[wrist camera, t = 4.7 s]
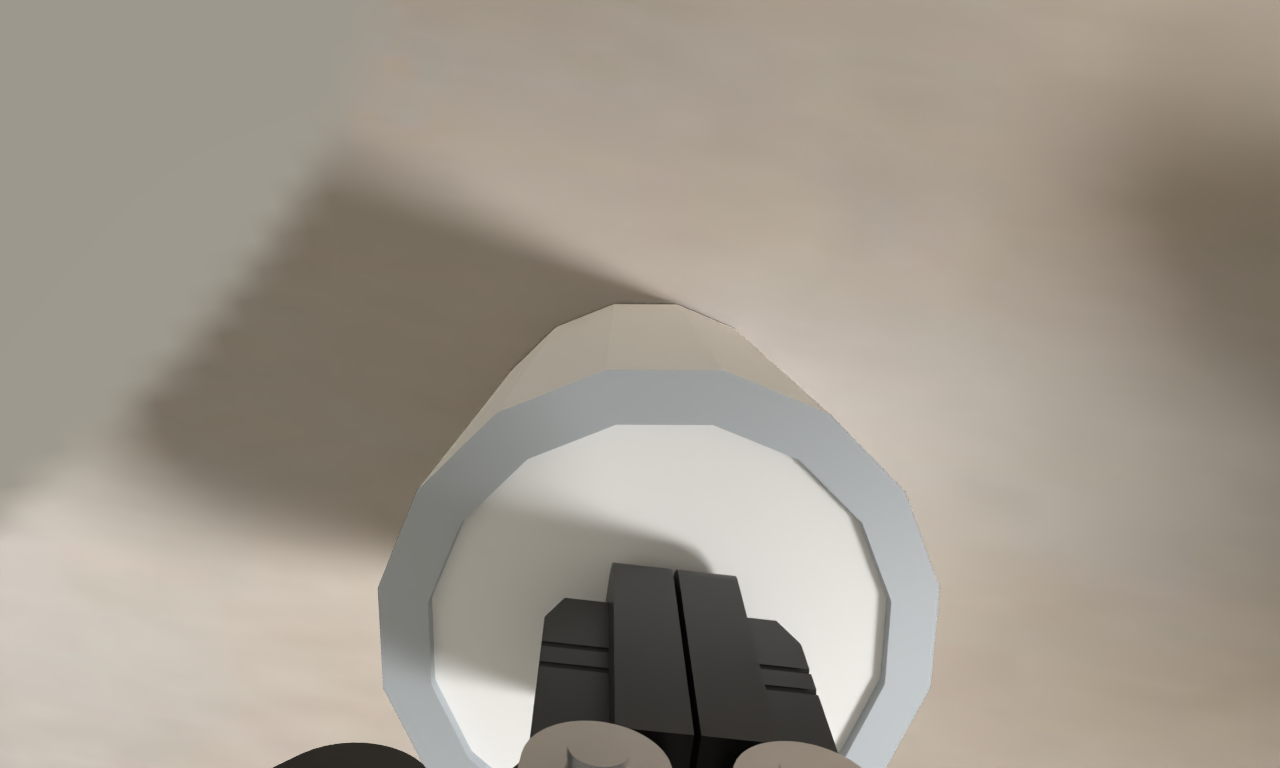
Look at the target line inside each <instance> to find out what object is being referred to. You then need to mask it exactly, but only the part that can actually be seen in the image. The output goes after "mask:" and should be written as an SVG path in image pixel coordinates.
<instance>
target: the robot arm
mask: <svg viewBox="0 0 1280 768" xmlns="http://www.w3.org/2000/svg"><path fill="white" fill-rule="evenodd" d="M273 768H426V767H425V766H424V765H423V764H422V763H421V762H419V761H418V760H417V759H415V758H414V757H412V756H410V755H408V754H407V753H405V752H402V751H400V750H397V749H394V748H391V747H387V746H383V745H378V744H370V743H341V744H334V745H328V746H323V747H320V748H316V749H313V750H310V751H308V752H305V753H303V754H300V755H298V756H296V757H294V758H292V759H290V760H288V761H286V762H284V763H282V764H279V765H277V766H275V767H273ZM513 768H861V767H860V766H859V765H857V764H856V763H854V762H853V761H851V760H850V759H848V758H846V757H844V756H842V755H840V754H838V751H837V748H836V745H835V743H834V740H833V737H832V734H831V731H830V728H829V725H828V722H827V719H826V716H825V713H824V710H823V707H822V704H821V701H820V699H819V696H818V695H816V687H815V684H814V681H813V678H812V675H811V674H809V666H808V663H807V660H806V657H805V655H804V652H803V649H802V646H801V644H800V643H799V642H798V641H797V640H796V639H795V638H794V637H793V636H792V635H791V634H790V633H789V632H788V631H787V630H786V629H785V628H783V627H782V626H781V625H780V624H779V623H778V622H777V621H775V620H766V619H756V618H747V614H746V611H745V607H744V603H743V599H742V595H741V591H740V587H739V583H738V580H737V577H736V576H732V575H723V574H714V573H705V572H696V571H687V570H678V569H676V570H675V573H674V576H673V571H672V569H667V568H658V567H649V566H641V565H632V564H623V563H614V562H612V565H611V570H610V575H609V582H608V589H607V596H606V602H599V601H590V600H581V599H572V598H564V599H563V600H562V601H561V602H560V603H559V604H557V605H556V606H555V607H554V608H553V609H552V610H551V611H550V612H549V613H548V614H547V615H546V616H545V617H544V625H543V634H542V642H541V650H540V658H539V666H538V674H537V682H536V690H535V699H534V707H533V715H532V723H531V731H530V739H529V740H528V742H527V743H526V744H525V746H524V748H523V750H522V753H521V757H520V760H519V763H518V764H517V765H516V766H514V767H513Z"/></svg>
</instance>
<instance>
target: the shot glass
mask: <svg viewBox="0 0 1280 768" xmlns="http://www.w3.org/2000/svg"><path fill="white" fill-rule="evenodd" d="M612 562H614V563H623V564H632V565H641V566H649V567H658V568H667V569H672V571H673V576H674V573H675V570H676V569H678V570H687V571H696V572H705V573H714V574H723V575H732V576H736V577H737V580H738V583H739V587H740V591H741V595H742V599H743V603H744V607H745V611H746V614H747V618H756V619H766V620H775V621H777V622H778V623H779V624H780V625H781V626H782V627H783V628H785V629H786V630H787V631H788V632H789V633H790V634H791V635H792V636H793V637H794V638H795V639H796V640H797V641H798V642H799V643H800V644H801V646H802V649H803V652H804V655H805V657H806V660H807V663H808V666H809V674H811V675H812V678H813V681H814V684H815V687H816V695H818V696H819V699H820V701H821V704H822V707H823V710H824V713H825V716H826V719H827V722H828V725H829V728H830V731H831V734H832V737H833V740H834V743H835V745H836V748H837V751H838V754H840V755H842V756H844V757H846V758H848V759H850V760H851V761H853V762H854V763H856V764H857V765H859V766H860V767H861V768H886V767H887V765H888V763H889V761H890V759H891V758H892V756H893V754H894V752H895V750H896V749H897V747H898V745H899V743H900V741H901V740H902V738H903V736H904V734H905V732H906V730H907V729H908V727H909V725H910V723H911V721H912V720H913V718H914V716H915V714H916V712H917V711H918V709H919V707H920V705H921V703H922V702H923V700H924V698H925V696H926V694H927V693H928V691H929V689H930V687H931V677H932V666H933V655H934V644H935V634H936V623H937V612H938V601H939V590H940V587H939V585H938V582H937V579H936V576H935V573H934V571H933V568H932V565H931V562H930V559H929V556H928V554H927V551H926V548H925V545H924V542H923V540H922V537H921V534H920V531H919V528H918V526H917V523H916V520H915V517H914V514H913V512H912V509H911V506H910V503H909V500H908V498H907V495H906V492H905V491H904V490H903V489H902V488H901V487H900V486H899V485H898V484H897V482H896V481H895V480H894V479H893V478H892V477H891V476H890V475H889V474H888V473H887V472H886V471H885V470H884V469H883V468H882V467H881V466H880V465H879V464H878V463H877V462H876V461H875V460H874V459H873V458H872V457H871V456H870V455H869V454H868V453H867V452H866V451H865V450H864V449H863V448H862V447H861V445H860V444H859V443H858V442H857V441H856V440H855V439H854V438H853V437H852V436H851V435H850V434H849V433H848V432H847V431H846V430H845V429H844V428H843V427H842V426H841V425H840V424H839V423H838V422H837V421H836V420H835V419H834V418H833V417H832V416H831V415H830V414H829V413H828V412H827V411H826V410H825V409H824V408H823V407H821V406H820V405H819V404H818V403H817V402H816V401H815V400H814V399H812V398H811V397H810V396H809V395H808V394H807V393H806V392H805V391H804V390H802V389H801V388H800V387H799V386H798V385H797V384H796V383H795V382H793V381H792V380H791V379H790V378H789V377H788V376H787V375H786V374H784V373H783V372H782V371H781V370H780V369H779V368H778V367H777V366H776V365H774V364H773V363H772V362H771V361H770V360H769V359H768V358H767V357H765V356H764V355H763V354H762V353H761V352H760V351H759V350H758V349H756V348H755V347H754V346H753V345H752V344H751V343H750V342H749V341H748V340H746V339H745V338H744V337H743V336H742V335H741V334H740V333H739V332H737V331H736V330H735V329H734V328H732V327H730V326H727V325H725V324H722V323H720V322H718V321H715V320H713V319H711V318H708V317H706V316H703V315H701V314H699V313H696V312H694V311H691V310H689V309H687V308H684V307H682V306H680V305H677V304H612V305H610V306H607V307H605V308H602V309H600V310H597V311H595V312H592V313H590V314H587V315H585V316H582V317H580V318H577V319H575V320H572V321H570V322H567V323H565V324H562V325H560V326H557V327H555V328H554V329H553V330H552V331H551V332H550V333H549V334H548V335H547V336H546V337H545V338H544V339H543V340H542V341H541V342H540V343H539V344H538V345H537V346H536V347H535V348H534V349H533V350H532V351H531V352H530V353H529V354H528V355H527V356H526V357H525V358H524V359H523V360H522V361H521V362H520V363H519V364H517V365H516V366H515V367H514V368H513V369H512V371H511V372H510V373H509V374H508V376H507V377H506V378H505V379H504V381H503V382H502V383H501V384H500V386H499V387H498V388H497V390H496V391H495V392H494V393H493V395H492V396H491V397H490V398H489V400H488V401H487V402H486V403H485V405H484V406H483V407H482V409H481V410H480V411H479V412H478V414H477V415H476V416H475V417H474V419H473V420H472V421H471V422H470V424H469V425H468V426H467V428H466V429H465V430H464V431H463V433H462V434H461V435H460V436H459V438H458V439H457V440H456V441H455V443H454V444H453V445H452V447H451V448H450V449H449V450H448V452H447V453H446V454H445V455H444V457H443V458H442V459H441V461H440V462H439V463H438V464H437V466H436V467H435V468H434V469H433V471H432V472H431V473H430V474H429V476H428V477H427V478H426V480H425V481H424V482H423V483H422V485H421V486H420V487H419V488H418V490H417V491H416V494H415V496H414V499H413V501H412V504H411V506H410V509H409V511H408V514H407V516H406V519H405V521H404V524H403V526H402V529H401V531H400V534H399V536H398V539H397V541H396V544H395V546H394V549H393V551H392V554H391V556H390V559H389V561H388V564H387V566H386V569H385V571H384V574H383V576H382V579H381V581H380V584H379V586H378V601H379V619H380V637H381V655H382V674H383V689H384V691H385V693H386V695H387V696H388V698H389V700H390V702H391V704H392V706H393V708H394V710H395V712H396V714H397V716H398V717H399V719H400V721H401V723H402V725H403V727H404V729H405V731H406V733H407V735H408V737H409V739H410V740H411V742H412V744H413V746H414V748H415V750H416V752H417V754H418V756H419V758H420V760H421V761H422V763H423V765H424V766H425V767H426V768H513V767H514V766H516V765H517V764H518V763H519V760H520V757H521V753H522V750H523V748H524V746H525V744H526V743H527V742H528V740H529V739H530V731H531V723H532V715H533V707H534V699H535V690H536V682H537V674H538V666H539V658H540V650H541V642H542V634H543V625H544V617H545V616H546V615H547V614H548V613H549V612H550V611H551V610H552V609H553V608H554V607H555V606H556V605H557V604H559V603H560V602H561V601H562V600H563V599H564V598H572V599H581V600H590V601H599V602H606V596H607V589H608V582H609V575H610V570H611V565H612Z"/></svg>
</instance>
